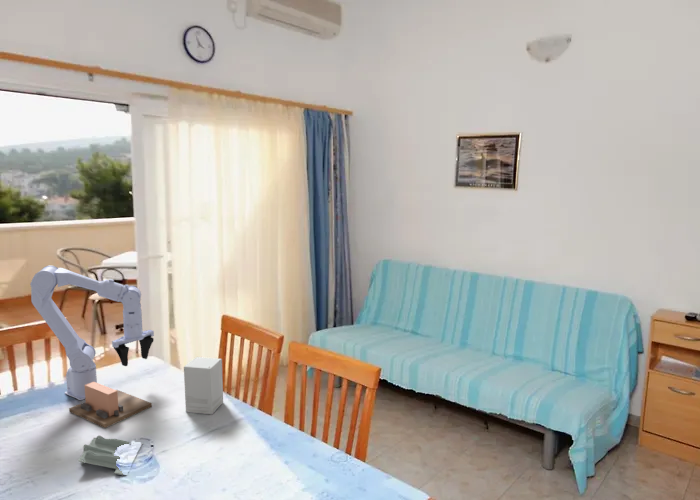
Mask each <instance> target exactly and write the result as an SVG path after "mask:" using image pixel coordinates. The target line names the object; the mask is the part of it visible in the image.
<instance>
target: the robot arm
mask: <svg viewBox="0 0 700 500" xmlns="http://www.w3.org/2000/svg"><path fill="white" fill-rule="evenodd" d="M29 284H30V288H31V291H30V292H31V295H30V296H31V297H30V298H31V304H32V305H33V306H34V308H35V309H36V311H37V312H38V314H39V315H40V316H41V318H42V319H43V321H44V322H45V323H46V324H47V325H48V327H49V328H50V330H51V331H52V332H53V334H54V335H55V337H56V338H57V339H58V340H59V342H60V343H61V344H62V346H63V347H64V350H65V354H66V357H67V359H68V361H69V368H68V369H67V371H66V374H65V375H66V376H65V378H66V388H67V389H66V390H67V391H64V394H65V395H67V396H70V397H71V398H74V399H77V400H79V401H83V400H85V385H86V384H88V383H91V382H96V383H98V377H97V376H98V375H97V365H96V363H95V362H94V358H95V356H96V349H95V347H94V346H92V345H90V344H89V343H87V342H86V340H85V339H84V338H82V337H80V336H79V334H78V333H77V332H76V330H75V329H74V328H73V326H72V324H71V323H70V322H69V320H68V319H67V318H66V316H65V315H64V314H63V312H62V311H61V309H60V308H59V307H58V305H57V304H56V302H54V300H53V298H52V297H53V294H54V292H55V288H56V286H57V288H59V287H60V288H61V287H63V286H68V285H71V286H76V287H80V288H83V289H87V290H91V291H95V292H96V293H97V295H98V296H99V297H101V298H105V299H109V300H110V301H114V302H118V303H119V302H120V303H121V304H122V307H123V309H122V317H123V320H122V321H123V336H121V337H119V338H117V339H114V340H112V341H111V347H112V348H113V349H114V350H115V352H116V353H117V355H118V357H119V359H120V362H121V365H122V366H124V367H128V364H129V360H128V359H129V350H130V347H128V346H127V344H129V343H133V342H136V341H138V342H139V346H140V355H141V358H142V359H143V360H147V359H148V357H149V351H150V349H151V346H152V344H153V343H154V336H155V331H154V330H152V329H148V330H143V316H142V315H143V312H142V305H141V300H142V299H141V298H142V291H141V290H140V288H139V287H137V286H135V285H129V284H121V283H119V282H115V279H112V278H109V279H103V280H100V281H99V280H97V279H94V278H91V277H89V276H86V275H83V274H80V273H78V272H74V271H72V270H69V269H67V268H63V267H57V266H55V265H46V266H44V267H42V268H41V269H40V270H39V271H38V272H36V273H35V274H34V275H33V277H32V280H31V282H30V283H29Z"/></svg>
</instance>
